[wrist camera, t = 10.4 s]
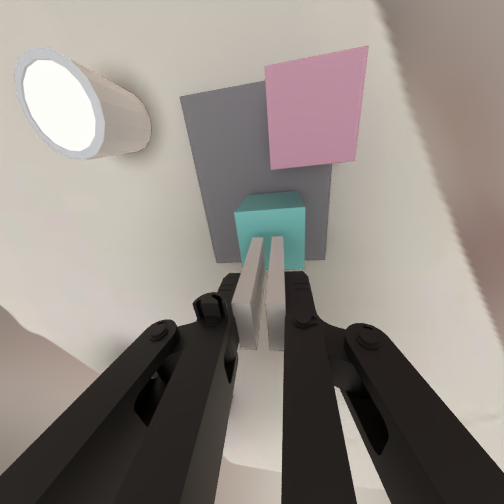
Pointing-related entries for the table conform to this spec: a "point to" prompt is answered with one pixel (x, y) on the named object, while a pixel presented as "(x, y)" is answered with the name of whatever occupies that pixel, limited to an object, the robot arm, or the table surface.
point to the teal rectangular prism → (273, 225)
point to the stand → (276, 141)
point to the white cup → (78, 107)
